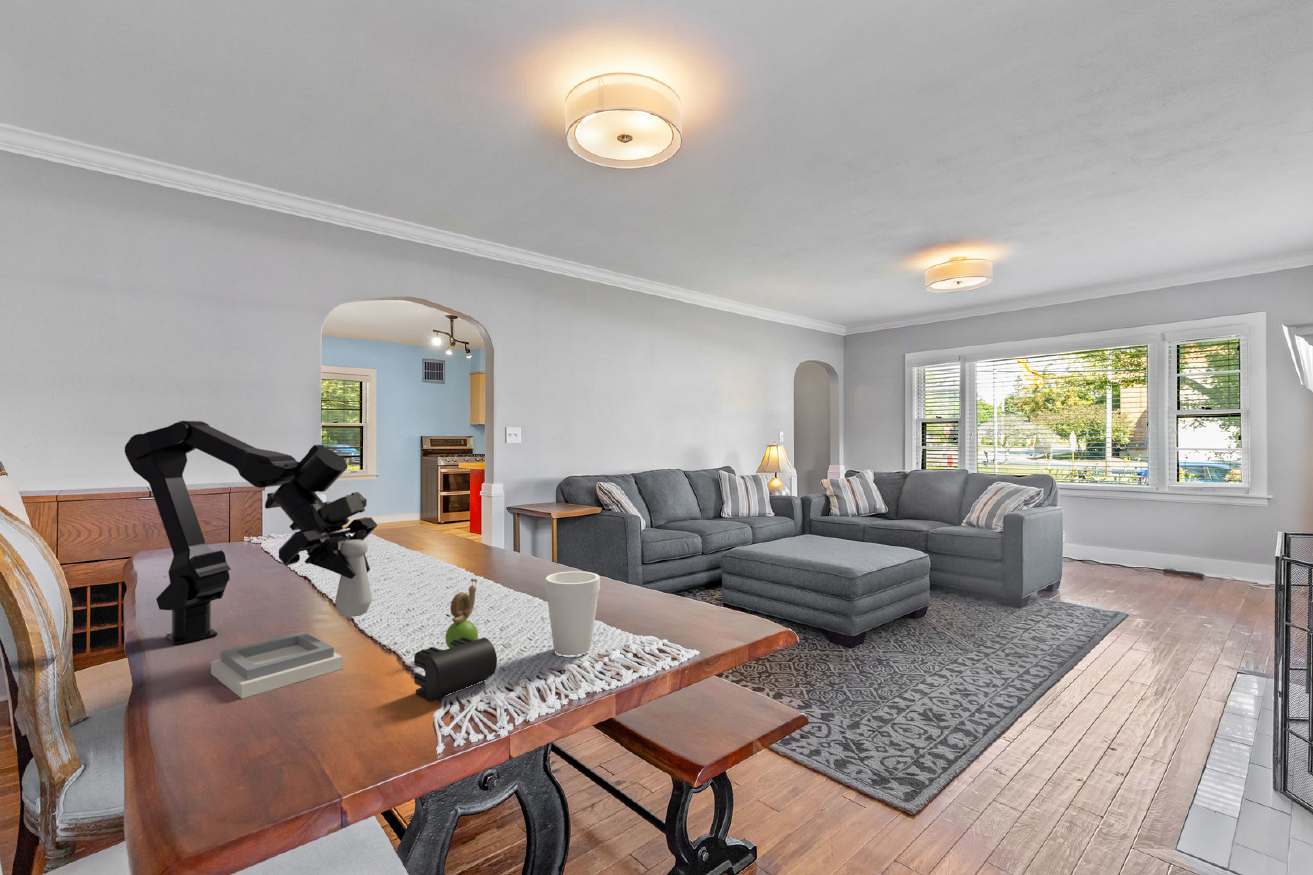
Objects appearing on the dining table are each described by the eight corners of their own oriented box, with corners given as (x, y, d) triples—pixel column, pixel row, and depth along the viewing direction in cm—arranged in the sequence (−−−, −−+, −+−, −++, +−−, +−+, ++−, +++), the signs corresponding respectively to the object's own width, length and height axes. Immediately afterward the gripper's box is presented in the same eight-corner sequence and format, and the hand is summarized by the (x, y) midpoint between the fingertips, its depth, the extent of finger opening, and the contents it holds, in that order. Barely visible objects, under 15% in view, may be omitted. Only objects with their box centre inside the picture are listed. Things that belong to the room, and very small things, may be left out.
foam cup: (534, 651, 104) (535, 577, 104) (575, 638, 111) (575, 568, 111) (569, 665, 98) (570, 587, 98) (610, 650, 105) (610, 577, 104)
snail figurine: (487, 646, 106) (487, 579, 106) (464, 658, 100) (465, 588, 100) (462, 642, 108) (462, 577, 108) (438, 654, 102) (438, 585, 102)
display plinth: (211, 673, 94) (211, 651, 94) (306, 648, 104) (307, 629, 104) (241, 698, 85) (241, 674, 85) (342, 668, 96) (342, 647, 96)
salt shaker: (378, 609, 107) (379, 538, 107) (358, 619, 102) (359, 544, 102) (348, 608, 108) (349, 537, 108) (327, 617, 102) (328, 542, 102)
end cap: (438, 709, 82) (438, 660, 82) (411, 695, 86) (411, 649, 86) (497, 685, 90) (497, 641, 90) (470, 673, 94) (470, 631, 94)
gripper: (294, 483, 96) (355, 554, 94) (368, 475, 115) (420, 534, 113) (251, 529, 98) (310, 600, 96) (331, 514, 116) (382, 573, 114)
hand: (360, 574), depth 105 cm, fingers closed on salt shaker, 3 cm apart
